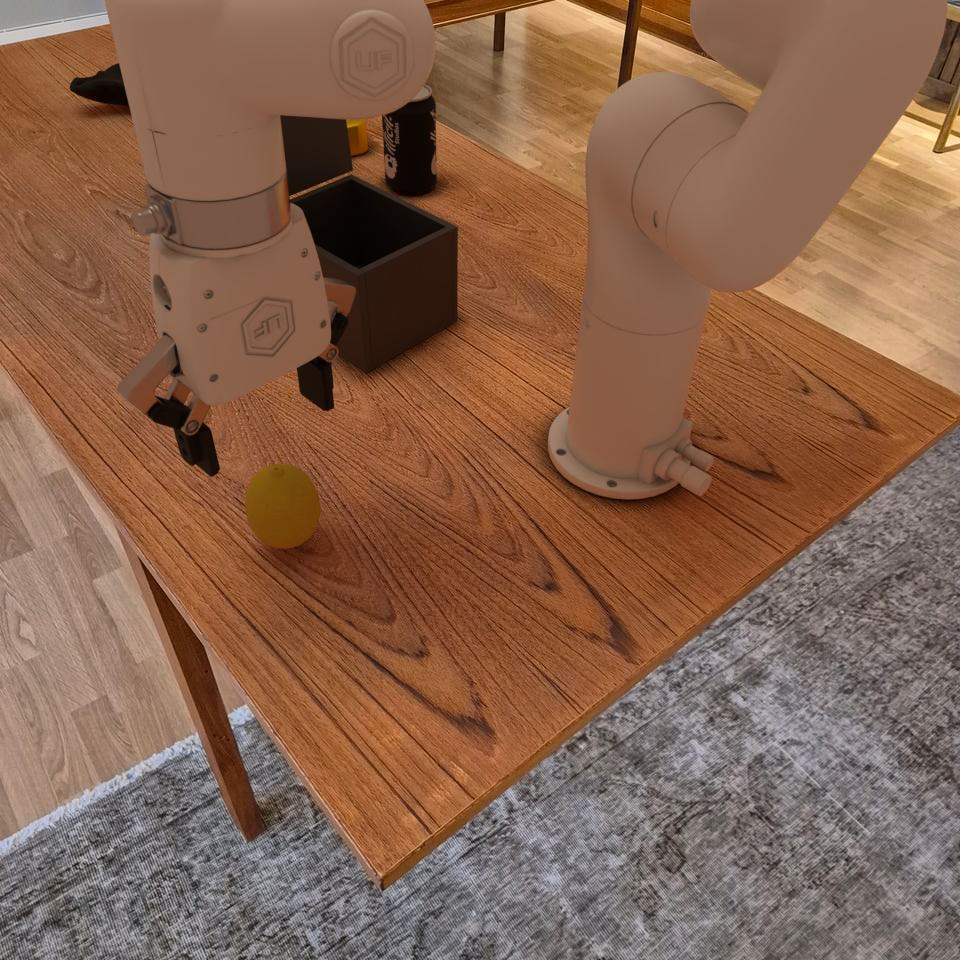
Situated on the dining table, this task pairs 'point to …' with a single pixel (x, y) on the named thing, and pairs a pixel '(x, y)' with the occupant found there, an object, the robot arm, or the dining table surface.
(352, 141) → the element tile
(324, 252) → the dark open storage box
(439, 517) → the dining table surface
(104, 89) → the oil lamp
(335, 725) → the dining table surface
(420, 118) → the beverage can
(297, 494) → the lemon
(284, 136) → the lid
